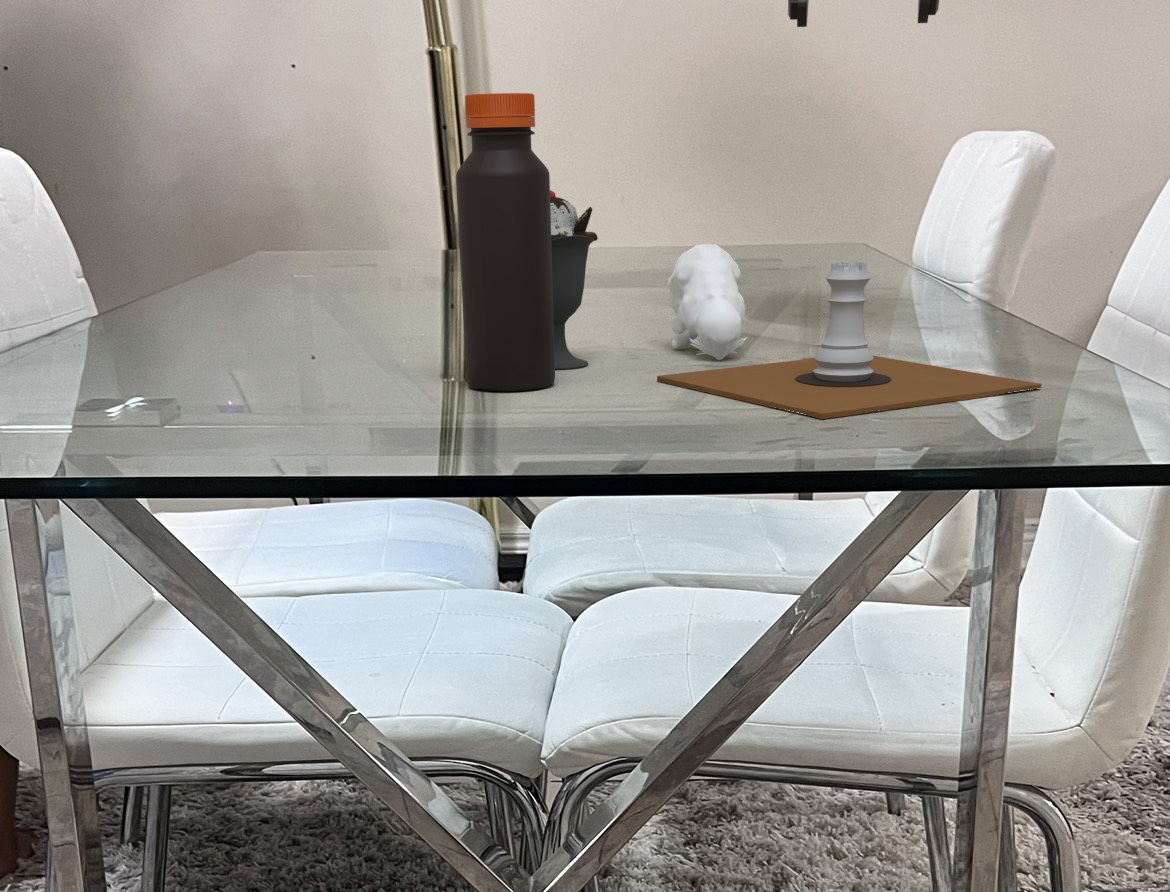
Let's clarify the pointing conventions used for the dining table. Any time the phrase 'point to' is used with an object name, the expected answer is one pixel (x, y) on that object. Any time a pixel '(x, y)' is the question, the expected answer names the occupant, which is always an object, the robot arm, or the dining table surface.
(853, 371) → the rook chess piece
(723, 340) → the white animal figurine
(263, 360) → the dining table surface
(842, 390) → the centre mat
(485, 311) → the bottle
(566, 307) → the sundae
